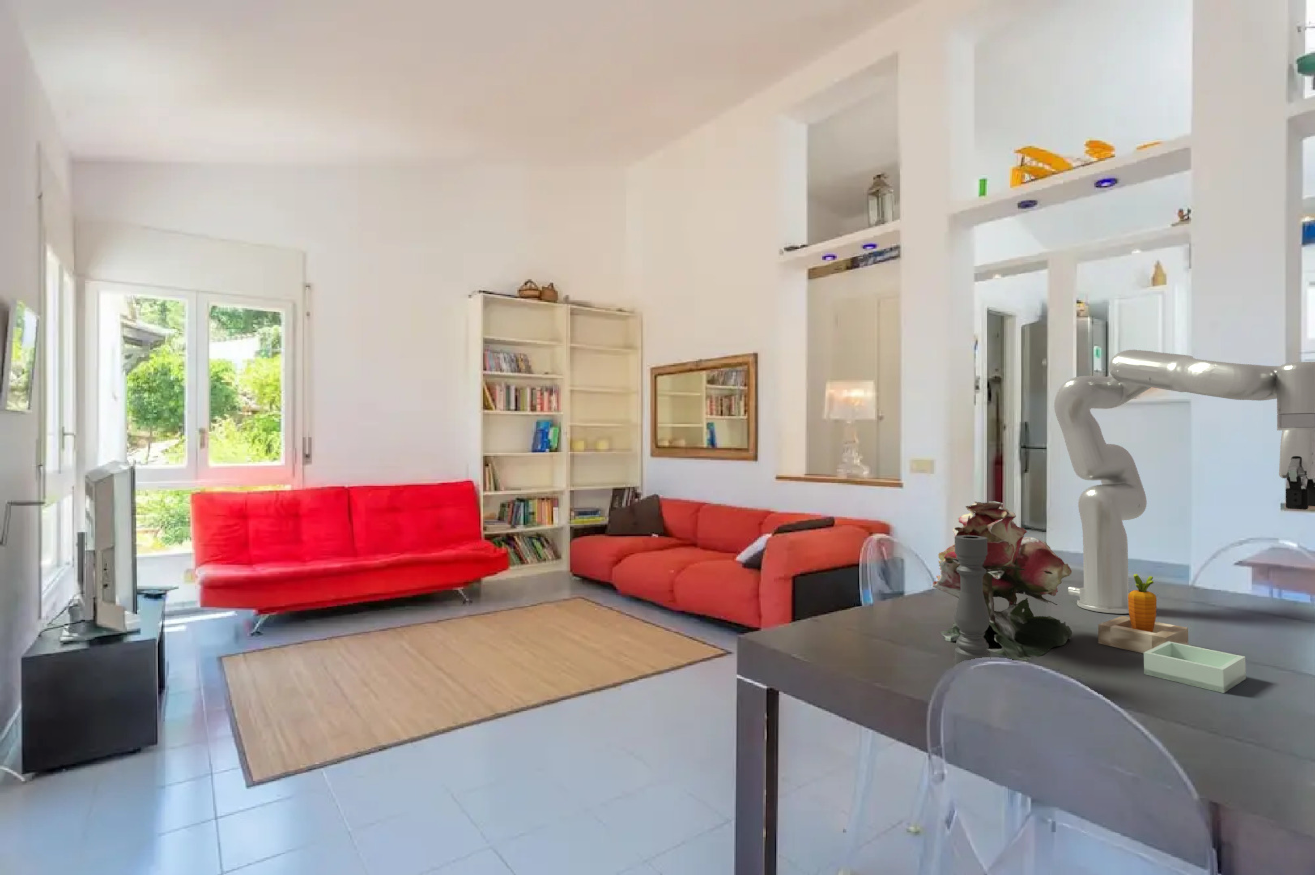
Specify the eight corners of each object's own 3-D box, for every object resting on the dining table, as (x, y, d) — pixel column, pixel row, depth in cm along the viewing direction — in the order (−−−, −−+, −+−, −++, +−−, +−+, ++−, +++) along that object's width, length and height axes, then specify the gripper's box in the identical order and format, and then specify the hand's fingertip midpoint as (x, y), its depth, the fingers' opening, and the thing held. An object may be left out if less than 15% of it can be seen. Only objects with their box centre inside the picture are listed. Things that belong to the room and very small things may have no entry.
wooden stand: (1098, 643, 142) (1098, 624, 142) (1122, 633, 149) (1122, 615, 149) (1165, 658, 132) (1165, 637, 132) (1188, 647, 139) (1188, 627, 139)
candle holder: (948, 663, 130) (946, 535, 130) (979, 662, 131) (977, 534, 131) (966, 674, 124) (964, 540, 124) (997, 673, 125) (995, 539, 125)
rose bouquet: (1083, 636, 147) (1081, 500, 148) (1027, 665, 129) (1024, 510, 129) (968, 614, 167) (967, 494, 168) (905, 636, 149) (903, 501, 149)
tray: (1144, 674, 123) (1143, 652, 123) (1168, 661, 130) (1168, 641, 130) (1223, 693, 114) (1223, 669, 114) (1245, 679, 120) (1245, 656, 120)
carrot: (1154, 643, 142) (1153, 572, 142) (1160, 650, 137) (1159, 577, 137) (1126, 640, 144) (1125, 571, 144) (1131, 647, 139) (1130, 575, 139)
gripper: (1287, 423, 144) (1288, 503, 144) (1266, 423, 134) (1266, 508, 134) (1337, 423, 138) (1337, 506, 138) (1318, 422, 128) (1319, 512, 128)
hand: (1302, 507), depth 136 cm, fingers open, 9 cm apart
